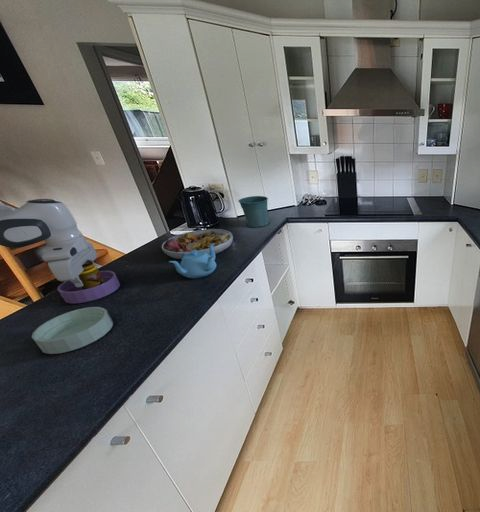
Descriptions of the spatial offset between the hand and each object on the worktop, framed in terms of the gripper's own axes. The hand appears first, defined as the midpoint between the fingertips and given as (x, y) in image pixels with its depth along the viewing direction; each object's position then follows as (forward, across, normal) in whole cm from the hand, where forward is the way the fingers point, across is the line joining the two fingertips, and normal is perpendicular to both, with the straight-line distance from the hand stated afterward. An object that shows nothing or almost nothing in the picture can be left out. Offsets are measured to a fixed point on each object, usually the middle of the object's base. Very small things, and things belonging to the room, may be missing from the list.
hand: (86, 279), depth 100 cm
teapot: (+6, -1, +35) cm, 35 cm away
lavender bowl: (+6, 0, 0) cm, 6 cm away
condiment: (+5, 0, 0) cm, 5 cm away
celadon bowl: (+6, +28, +6) cm, 29 cm away
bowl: (+6, -29, +32) cm, 44 cm away
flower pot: (+6, -57, +60) cm, 83 cm away
